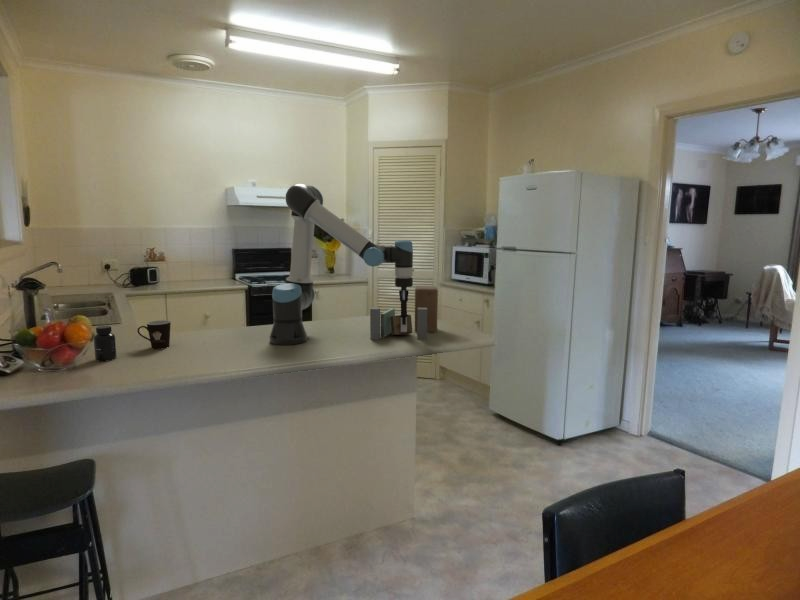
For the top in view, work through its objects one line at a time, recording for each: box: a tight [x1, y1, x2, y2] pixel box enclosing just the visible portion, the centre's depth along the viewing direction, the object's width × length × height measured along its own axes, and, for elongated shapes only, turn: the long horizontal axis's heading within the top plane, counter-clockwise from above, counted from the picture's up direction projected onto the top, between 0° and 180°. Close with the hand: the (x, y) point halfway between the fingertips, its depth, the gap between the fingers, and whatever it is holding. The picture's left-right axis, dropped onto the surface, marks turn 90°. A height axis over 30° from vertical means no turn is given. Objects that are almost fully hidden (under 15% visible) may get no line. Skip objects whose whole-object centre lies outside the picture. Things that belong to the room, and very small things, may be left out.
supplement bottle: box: [93, 325, 117, 362], centre depth 186 cm, size 7×7×12 cm
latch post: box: [416, 308, 428, 340], centre depth 218 cm, size 4×4×13 cm
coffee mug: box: [137, 319, 172, 350], centre depth 203 cm, size 12×9×10 cm
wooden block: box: [414, 285, 439, 334], centre depth 232 cm, size 10×10×20 cm
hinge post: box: [369, 306, 381, 340], centre depth 218 cm, size 4×4×13 cm
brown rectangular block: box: [390, 314, 414, 336], centre depth 224 cm, size 8×5×8 cm, turn 107°
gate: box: [380, 307, 396, 338], centre depth 225 cm, size 15×1×10 cm, turn 162°
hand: (403, 331), depth 220 cm, fingers closed
